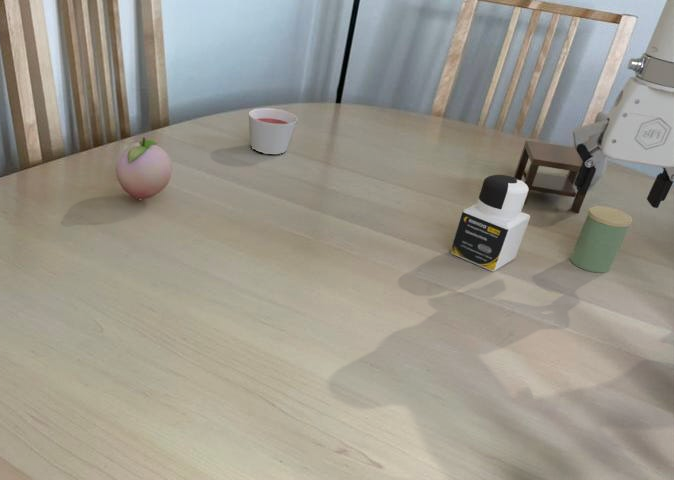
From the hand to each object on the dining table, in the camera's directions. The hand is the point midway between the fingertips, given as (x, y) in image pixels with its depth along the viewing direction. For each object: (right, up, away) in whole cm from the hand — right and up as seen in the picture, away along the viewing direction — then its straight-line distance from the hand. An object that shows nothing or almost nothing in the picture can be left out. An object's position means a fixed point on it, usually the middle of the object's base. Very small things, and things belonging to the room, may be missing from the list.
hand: (615, 197), depth 105 cm
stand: (+2, +5, +27) cm, 27 cm away
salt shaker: (+14, +10, +35) cm, 39 cm away
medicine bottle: (-17, -8, +5) cm, 19 cm away
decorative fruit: (-68, +2, +12) cm, 69 cm away
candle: (-46, +16, +36) cm, 60 cm away
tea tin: (-1, -9, +6) cm, 11 cm away
